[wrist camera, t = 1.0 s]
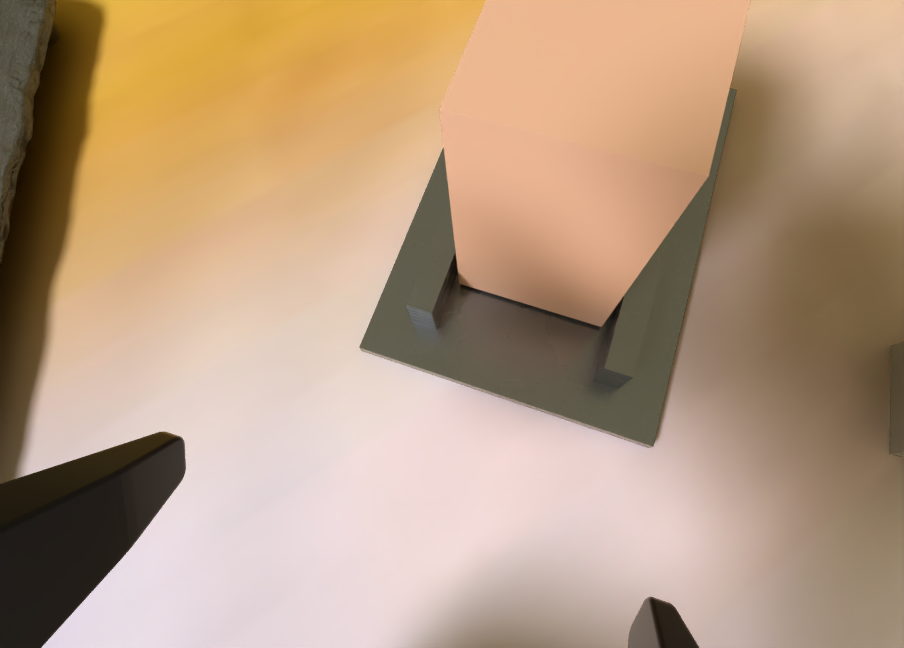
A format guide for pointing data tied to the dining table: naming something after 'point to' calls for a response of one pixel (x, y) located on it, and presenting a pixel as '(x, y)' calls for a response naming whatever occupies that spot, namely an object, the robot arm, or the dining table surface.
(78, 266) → the dining table surface
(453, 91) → the block
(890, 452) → the dice cube
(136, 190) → the dining table surface
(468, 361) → the grey railed base plate
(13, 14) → the serving board
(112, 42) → the dining table surface
